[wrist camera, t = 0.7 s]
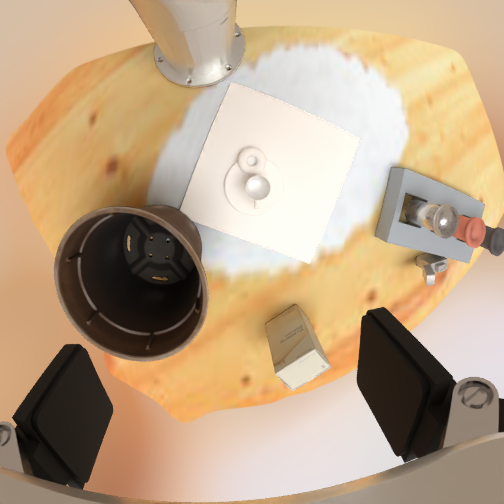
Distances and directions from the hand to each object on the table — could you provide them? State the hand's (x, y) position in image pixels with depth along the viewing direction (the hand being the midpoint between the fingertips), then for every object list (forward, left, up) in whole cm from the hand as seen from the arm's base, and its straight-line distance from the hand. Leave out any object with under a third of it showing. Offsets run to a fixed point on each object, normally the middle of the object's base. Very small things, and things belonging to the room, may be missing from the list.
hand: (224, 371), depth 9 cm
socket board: (-6, +32, -33) cm, 47 cm away
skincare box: (+16, +12, -33) cm, 39 cm away
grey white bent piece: (+1, +33, -33) cm, 47 cm away
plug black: (-6, +39, -29) cm, 49 cm away
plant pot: (+7, -9, -33) cm, 35 cm away
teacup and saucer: (-6, +5, -33) cm, 34 cm away
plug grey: (-6, +26, -29) cm, 40 cm away
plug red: (-6, +32, -29) cm, 44 cm away
